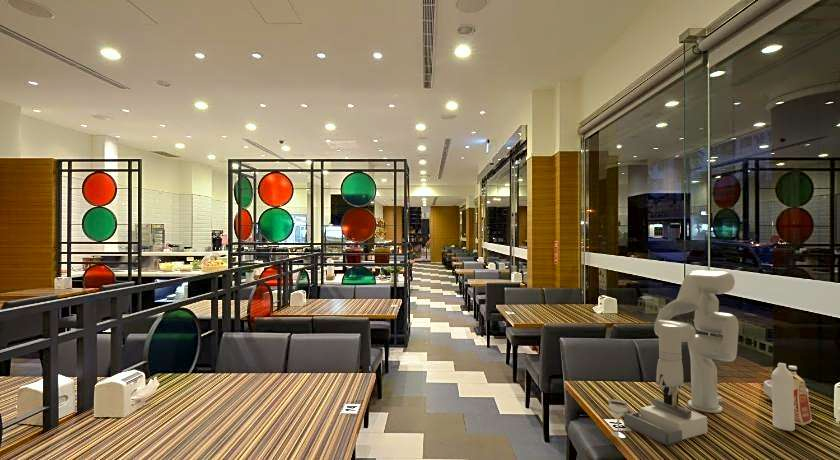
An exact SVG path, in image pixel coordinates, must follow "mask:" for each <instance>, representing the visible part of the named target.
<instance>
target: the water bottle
mask: <svg viewBox="0 0 840 460" xmlns="http://www.w3.org/2000/svg"><path fill="white" fill-rule="evenodd" d="M790 370H791V371H792V370H794V371H797V370H798V367H797V365H788V368H787V363H784V362H778V363H777V367H775V368H774V370H773V371H772V373H771V380H772V398H773V399H772V400H771V401H772V402H771V403H772V405H771V407H772V425H773V427H774V428H777V429H779V430H783V431H786V432H787V431H789V432H793V431H795V429H796V423H794V422H795V419H794V386H793V381H794V380H793V376H792V374H791V373H790V372H789V371H790Z"/></svg>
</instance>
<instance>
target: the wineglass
mask: <svg viewBox="0 0 840 460" xmlns="http://www.w3.org/2000/svg"><path fill="white" fill-rule="evenodd" d="M628 405H629V403H628V402H627V401H625V400H622V399H619V398H617V399H616V398H611V399H608V410H609V412H610V414H612V415H613V416H615V417H616V418H617V419H616V420H617V421H616V422H617V431H611V433H610V434H611V435H612V436H613V437H616V438H618V439H619V438H623V439H624V438H626V437H627V436H626V434H625V433H623V432H620V418H622V417H623V418H624V416H625V415H626V414H627V413H628V412H629V407H628ZM628 414H629V413H628Z"/></svg>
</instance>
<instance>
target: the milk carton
mask: <svg viewBox="0 0 840 460" xmlns="http://www.w3.org/2000/svg"><path fill="white" fill-rule="evenodd" d="M789 372H790V373H791V374H792V376H793V380H794V381H793V386H794V419H795V422H794V424H797V425H801V426H806V425H807V424H810V423H811V422H813V418H812V410H811V406H810V400H809V399H808V398H809V397H808V394H809V393H808V394H807V390H806V388H807V386H806V383H805V380H804V379H803V378H801V376H799V375H798V374H797V371H792V370H789Z"/></svg>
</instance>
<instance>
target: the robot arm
mask: <svg viewBox="0 0 840 460" xmlns="http://www.w3.org/2000/svg"><path fill="white" fill-rule="evenodd" d="M684 276H685V277H684V278H683V280H682V283H681V286H680V288H679V292H678V294H677V298H676V299H673V300H672V301H671V302H669V303H667V304H666V305H664V306H663V307H662V308H661V309H660V310H659V311H658V313H657V317H655V320H654V321H655V322H654V325H653V326H654V327H653V331H654V333H655V335H656V336H657V337H658V354H659V355H658V357H659V359H658V360H657V365H656V375H655V376H656V379H655V381H656V384H657V385H658V389H659V390H661V392H662V393H663V400H664V403H666V404H668V405H672V395H671V387H673V386H677V405H678V404H679V393H680V389H681V387H682V386H683V385H684V380H685V379H684V367H683V361H682V358H683V357H682V343H687V347H688V352H689V357H690V382H691V383H690V384H691V387H690V389H691V391H690V392H691V393H690V395H691V396H690V397H691V399H689V400H687V406H688V407H689V408H691V409H694V410H696V411H700V412H704V413H710V414H718V413H721V412H723V407H722V406H721V405H719V402H722V401H723V400H724V399H723V397H722V396H718V369H717V365H716V364H715V362H714V361H713V360H717V361H722V362H727V363H728V362H733V361H735V360H736V358H737V355H738V343H739V329H740V326H739V320H738V319H737V316H736V315H734V314H733V313H728V312H719V306H720V305H719V304H720V301H719V299H718V297H717V296H716V295H723V294H726V293H729V292H731V291H732V290H733V289H734V287H735V277H734V276H733V274H732V273H730V272H728V271H715V270H713V271H711V270H691V271H690V272H689V273H688V274H686V275H684ZM691 312H692V313H693V312H694V320H693V322H694V326H693V324H691V323H689V322H683V321H678V320H671V319H672V318H674V317H675V316H678V315H682V314H688V313H691ZM696 330H698V331H699V332H703V333H708V334H715V335H721V336H722V337H719V336H712V335H706V334H699V333H698V334H697V331H696ZM666 387H667V388H668V389H667V388H666Z"/></svg>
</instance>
